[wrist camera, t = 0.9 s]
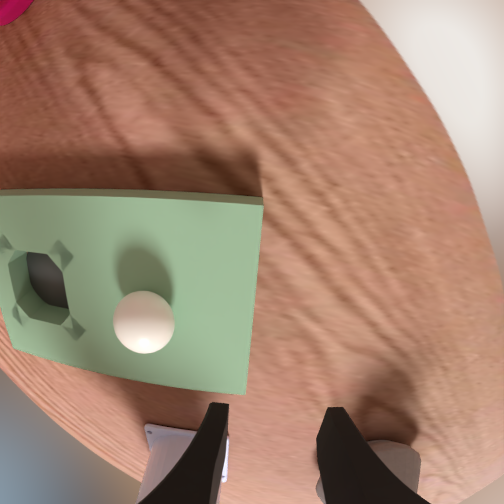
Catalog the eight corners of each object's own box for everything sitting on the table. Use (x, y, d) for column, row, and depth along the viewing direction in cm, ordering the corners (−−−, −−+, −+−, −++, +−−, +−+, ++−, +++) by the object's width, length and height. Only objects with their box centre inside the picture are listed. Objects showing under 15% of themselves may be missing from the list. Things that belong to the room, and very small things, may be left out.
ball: (181, 334, 19) (168, 370, 15) (129, 327, 19) (108, 360, 15) (180, 283, 18) (164, 315, 14) (123, 277, 18) (98, 305, 14)
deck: (246, 372, 23) (245, 394, 20) (27, 333, 23) (13, 348, 20) (262, 197, 18) (263, 205, 16) (1, 189, 18) (-20, 196, 16)
